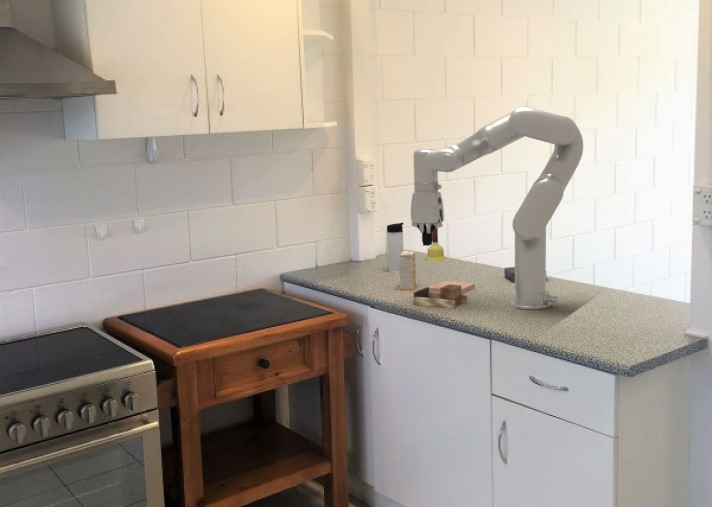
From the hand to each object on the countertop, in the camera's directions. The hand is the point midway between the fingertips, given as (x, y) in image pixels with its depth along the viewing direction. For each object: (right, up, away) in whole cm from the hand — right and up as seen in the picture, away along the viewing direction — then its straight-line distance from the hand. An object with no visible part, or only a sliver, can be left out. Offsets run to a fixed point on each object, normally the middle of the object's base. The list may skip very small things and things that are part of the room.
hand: (427, 244), depth 258 cm
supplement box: (-4, -16, +26) cm, 31 cm away
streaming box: (+38, -13, +31) cm, 51 cm away
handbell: (+10, -7, +74) cm, 75 cm away
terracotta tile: (+10, -16, +19) cm, 26 cm away
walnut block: (+7, -19, -2) cm, 21 cm away
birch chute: (+4, -19, +1) cm, 19 cm away
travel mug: (-7, -11, +56) cm, 57 cm away
